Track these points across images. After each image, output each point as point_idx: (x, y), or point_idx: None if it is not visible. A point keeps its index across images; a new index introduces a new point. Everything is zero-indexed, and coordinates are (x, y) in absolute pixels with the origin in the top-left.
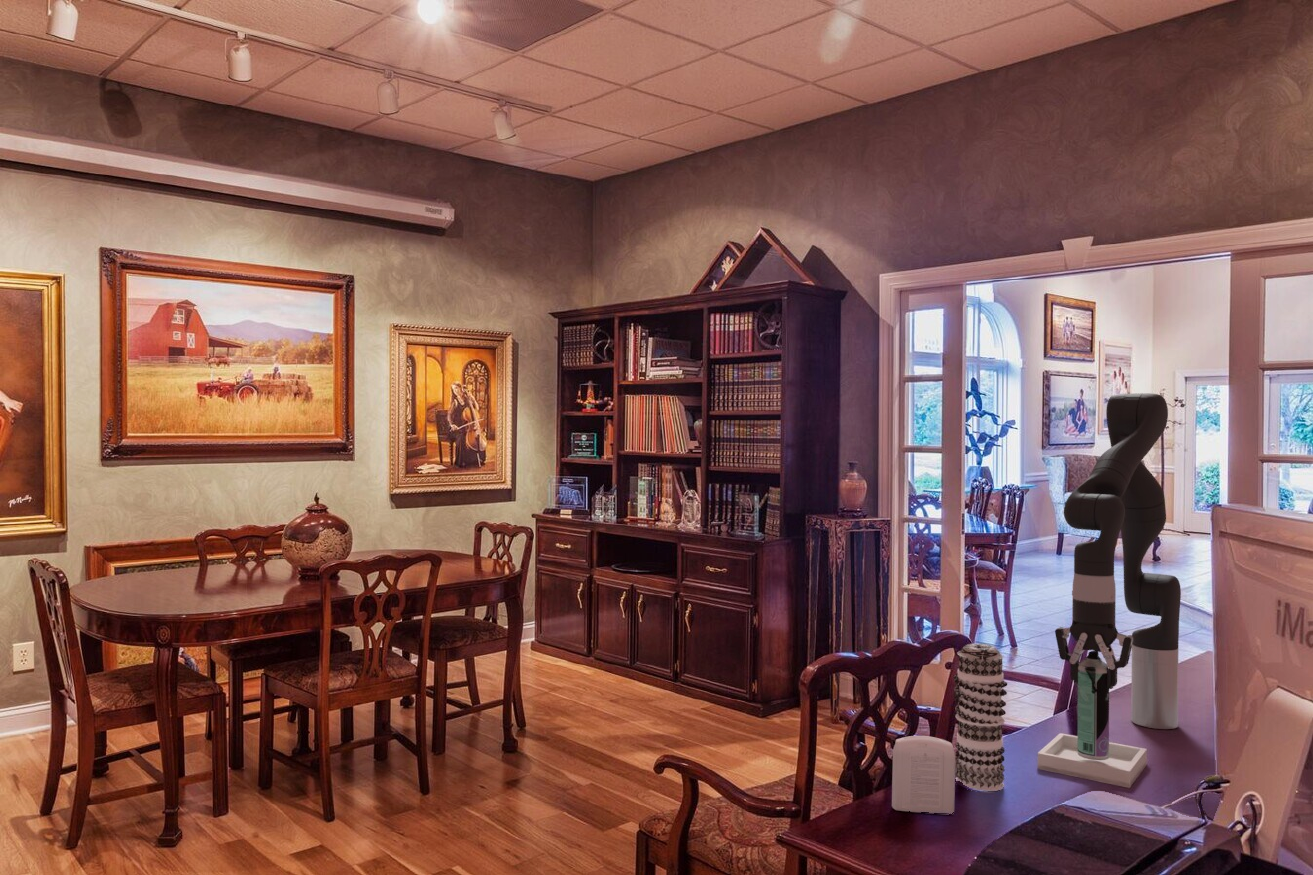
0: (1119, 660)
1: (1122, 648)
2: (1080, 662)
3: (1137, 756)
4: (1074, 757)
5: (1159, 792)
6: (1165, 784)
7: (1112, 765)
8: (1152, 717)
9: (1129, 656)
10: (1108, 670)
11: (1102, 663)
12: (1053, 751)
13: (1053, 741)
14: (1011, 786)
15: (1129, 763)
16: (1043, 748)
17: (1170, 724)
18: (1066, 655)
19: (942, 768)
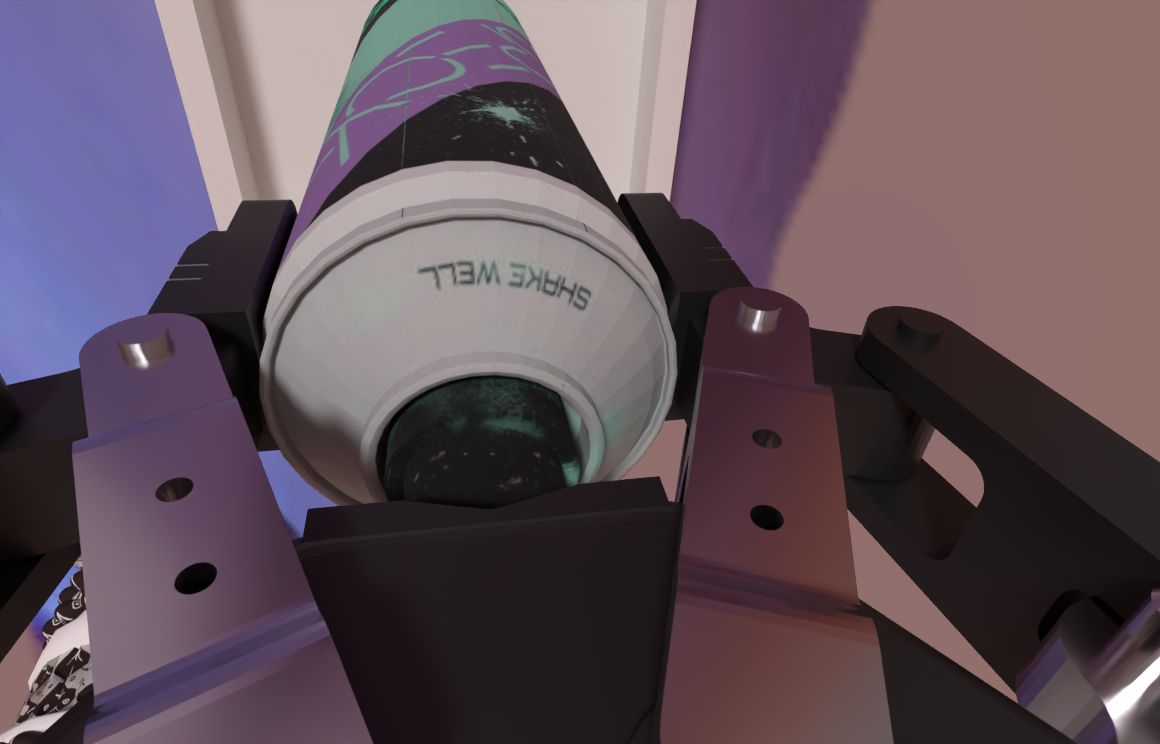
0: (855, 513)
1: (1004, 672)
2: (312, 462)
3: (677, 10)
4: (333, 25)
5: (744, 225)
6: (771, 105)
7: (542, 42)
8: None
9: (1044, 400)
10: (671, 414)
11: (615, 451)
12: (226, 84)
13: (177, 20)
14: (289, 487)
15: (648, 171)
16: (217, 210)
17: None
18: (62, 548)
19: None
